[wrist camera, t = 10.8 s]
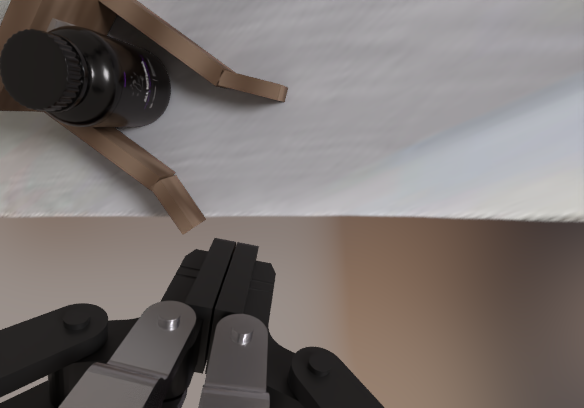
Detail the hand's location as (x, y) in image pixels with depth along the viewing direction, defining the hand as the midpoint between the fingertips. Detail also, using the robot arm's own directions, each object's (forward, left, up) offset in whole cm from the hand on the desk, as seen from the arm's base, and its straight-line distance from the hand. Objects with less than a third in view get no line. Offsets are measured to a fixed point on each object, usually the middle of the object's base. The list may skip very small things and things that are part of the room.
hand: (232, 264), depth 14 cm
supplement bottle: (+15, -8, -22) cm, 28 cm away
